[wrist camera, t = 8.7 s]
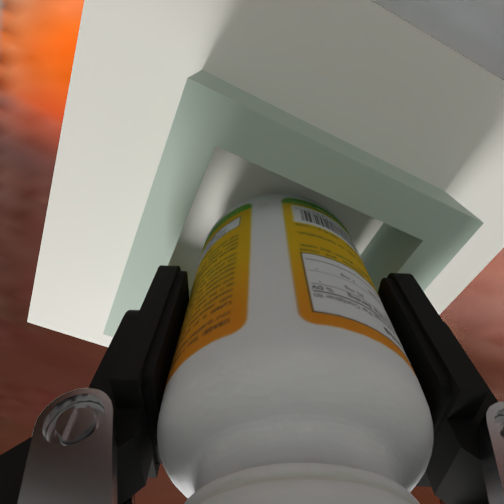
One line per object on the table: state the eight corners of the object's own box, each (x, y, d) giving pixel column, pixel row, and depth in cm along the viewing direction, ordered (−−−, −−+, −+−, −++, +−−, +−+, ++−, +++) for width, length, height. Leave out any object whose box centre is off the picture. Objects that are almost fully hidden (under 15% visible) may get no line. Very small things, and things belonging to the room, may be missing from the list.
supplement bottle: (219, 323, 15) (164, 704, 6) (186, 201, 12) (12, 582, 4) (353, 308, 14) (491, 702, 6) (351, 178, 11) (605, 560, 3)
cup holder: (128, -135, 9) (61, -226, 6) (576, 132, 13) (684, 164, 9) (41, 304, 17) (-9, 366, 14) (335, 399, 20) (350, 468, 17)
